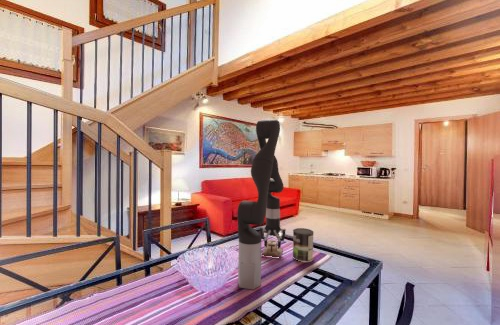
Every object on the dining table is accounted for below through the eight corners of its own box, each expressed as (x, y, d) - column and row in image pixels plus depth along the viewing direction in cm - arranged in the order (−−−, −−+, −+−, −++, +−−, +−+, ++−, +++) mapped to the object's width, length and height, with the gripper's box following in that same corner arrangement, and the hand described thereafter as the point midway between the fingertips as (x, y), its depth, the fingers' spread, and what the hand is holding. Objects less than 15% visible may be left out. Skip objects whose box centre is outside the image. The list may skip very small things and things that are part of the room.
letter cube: (276, 253, 123) (276, 243, 123) (266, 252, 124) (266, 242, 124) (277, 249, 128) (277, 240, 128) (268, 249, 129) (268, 239, 129)
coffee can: (298, 263, 114) (299, 234, 114) (289, 255, 124) (289, 228, 124) (317, 261, 117) (317, 233, 117) (306, 253, 127) (306, 227, 127)
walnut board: (280, 258, 119) (280, 256, 119) (261, 256, 121) (261, 254, 121) (282, 250, 131) (282, 248, 131) (265, 248, 133) (265, 246, 133)
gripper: (258, 217, 124) (258, 248, 124) (285, 219, 121) (285, 251, 121) (261, 214, 131) (260, 243, 131) (286, 215, 128) (286, 246, 128)
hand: (272, 247), depth 126 cm, fingers open, 6 cm apart
